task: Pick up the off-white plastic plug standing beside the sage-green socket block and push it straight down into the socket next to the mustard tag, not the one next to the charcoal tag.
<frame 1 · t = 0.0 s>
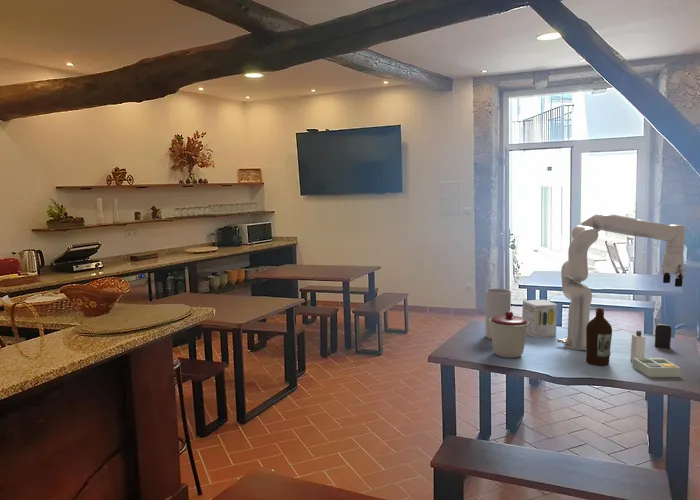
hand: (672, 284, 263), 31 cm above the table, tool pointing down, fingers open, 9 cm apart
cylinder vase: (497, 337, 284), on the table
olive oil: (597, 363, 243), on the table
battery charger: (662, 347, 266), on the table
supplement box: (538, 334, 290), on the table
socket block: (655, 371, 231), on the table
plug: (637, 361, 244), on the table
canister: (507, 355, 255), on the table
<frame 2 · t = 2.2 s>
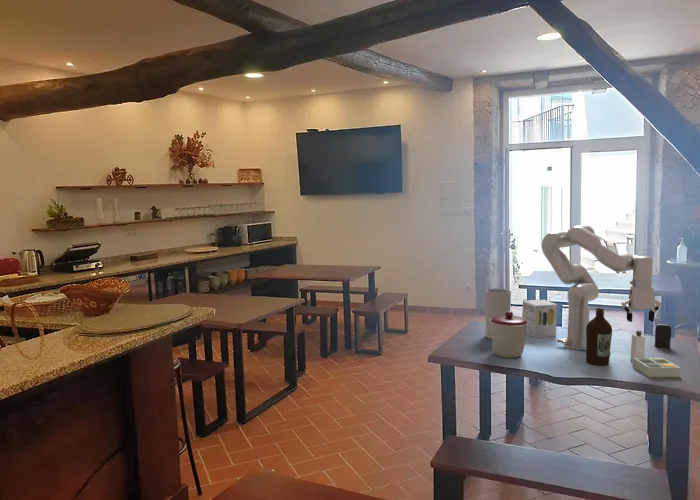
hand: (640, 321, 242), 19 cm above the table, tool pointing down, fingers open, 9 cm apart
nothing on the table moved.
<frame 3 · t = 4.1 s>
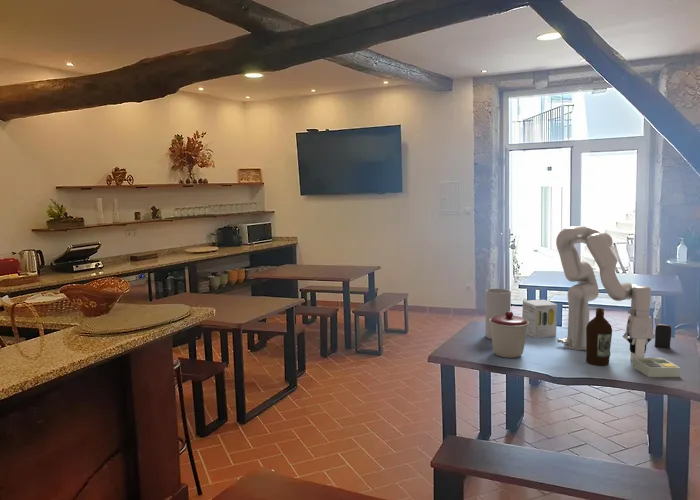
hand: (637, 352, 244), 4 cm above the table, tool pointing down, fingers closed on plug, 4 cm apart
plug: (637, 361, 244), on the table, touching gripper
everything else where it was.
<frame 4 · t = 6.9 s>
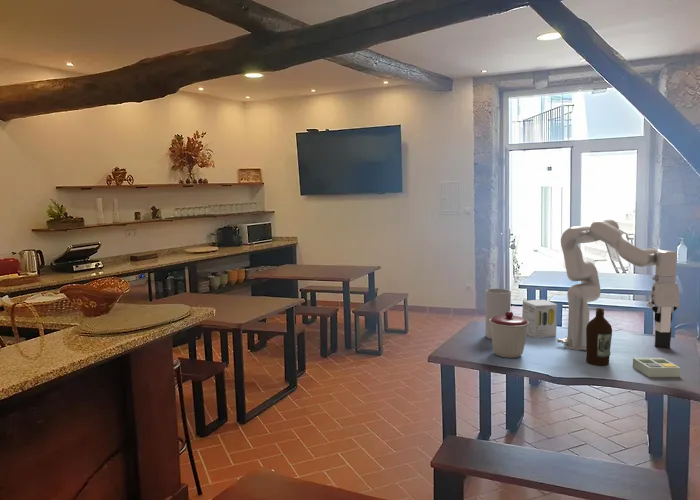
hand: (663, 321, 230), 22 cm above the table, tool pointing down, fingers closed on plug, 4 cm apart
plug: (662, 331, 231), point 17 cm above the table, touching gripper
everything else where it was.
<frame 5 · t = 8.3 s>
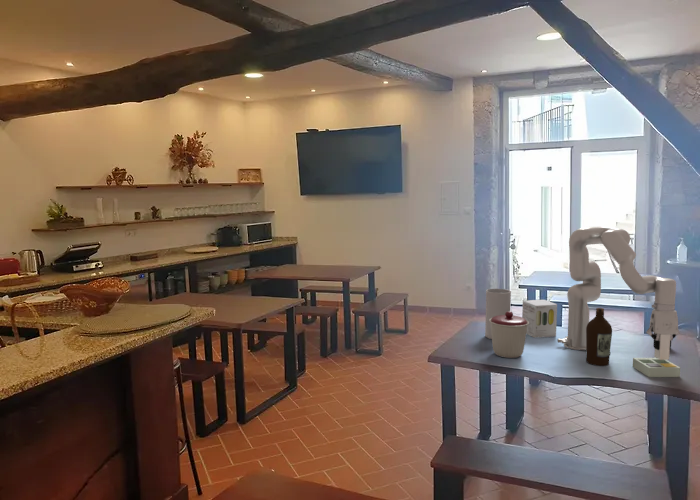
hand: (662, 348, 231), 10 cm above the table, tool pointing down, fingers closed on plug, 4 cm apart
plug: (661, 358, 232), point 5 cm above the table, touching gripper
everything else where it was.
when the fingers open (5 cm above the table, at t = 9.6 s): plug stays where it is, resting in socket block.
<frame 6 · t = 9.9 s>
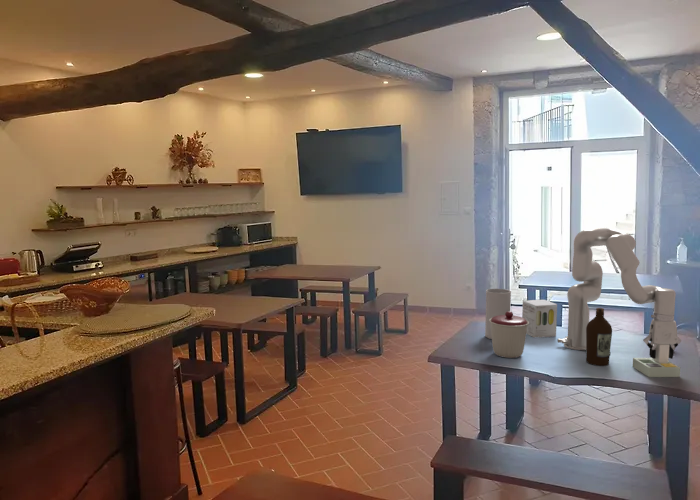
hand: (661, 357, 232), 6 cm above the table, tool pointing down, fingers open, 6 cm apart
plug: (660, 370, 232), resting in socket block
everything else where it was.
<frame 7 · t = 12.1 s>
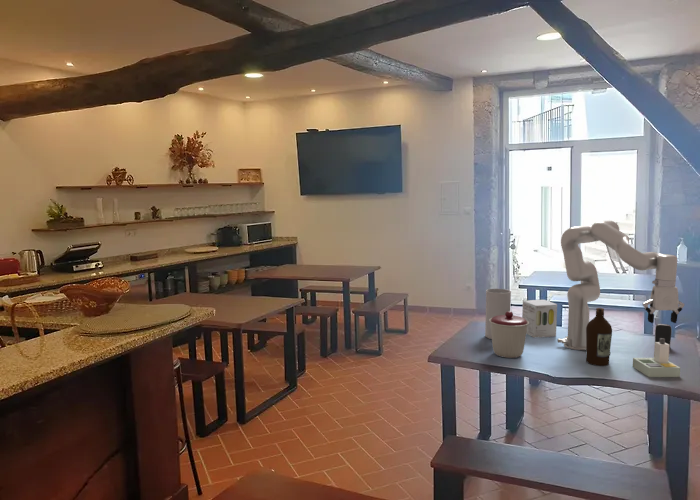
hand: (662, 322, 231), 21 cm above the table, tool pointing down, fingers open, 9 cm apart
nothing on the table moved.
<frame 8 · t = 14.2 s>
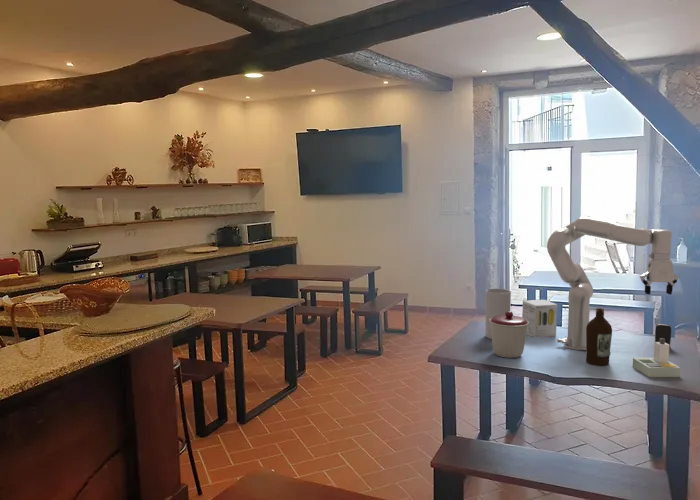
hand: (658, 293, 245), 30 cm above the table, tool pointing down, fingers open, 9 cm apart
nothing on the table moved.
at the end: plug 0.0 cm from the target spot on the socket block, point 0.0 cm above the socket block's base; plug tilted 0°; the gripper is holding nothing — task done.
